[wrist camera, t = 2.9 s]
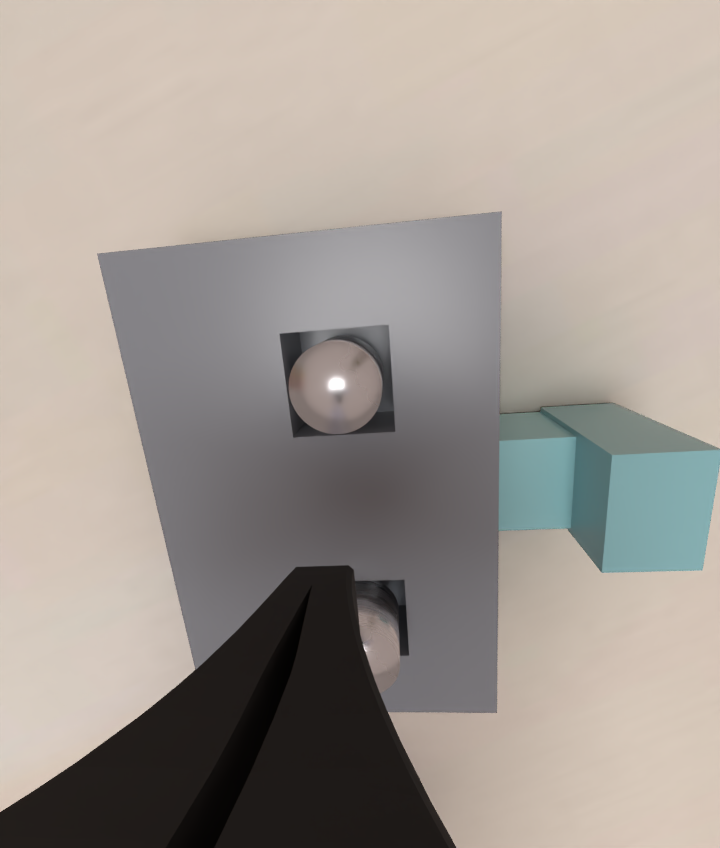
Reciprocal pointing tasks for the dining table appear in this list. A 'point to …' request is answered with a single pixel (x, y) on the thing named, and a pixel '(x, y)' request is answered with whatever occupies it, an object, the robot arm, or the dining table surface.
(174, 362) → the housing
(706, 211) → the dining table surface
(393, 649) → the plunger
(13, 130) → the dining table surface
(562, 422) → the cartridge
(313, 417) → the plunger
